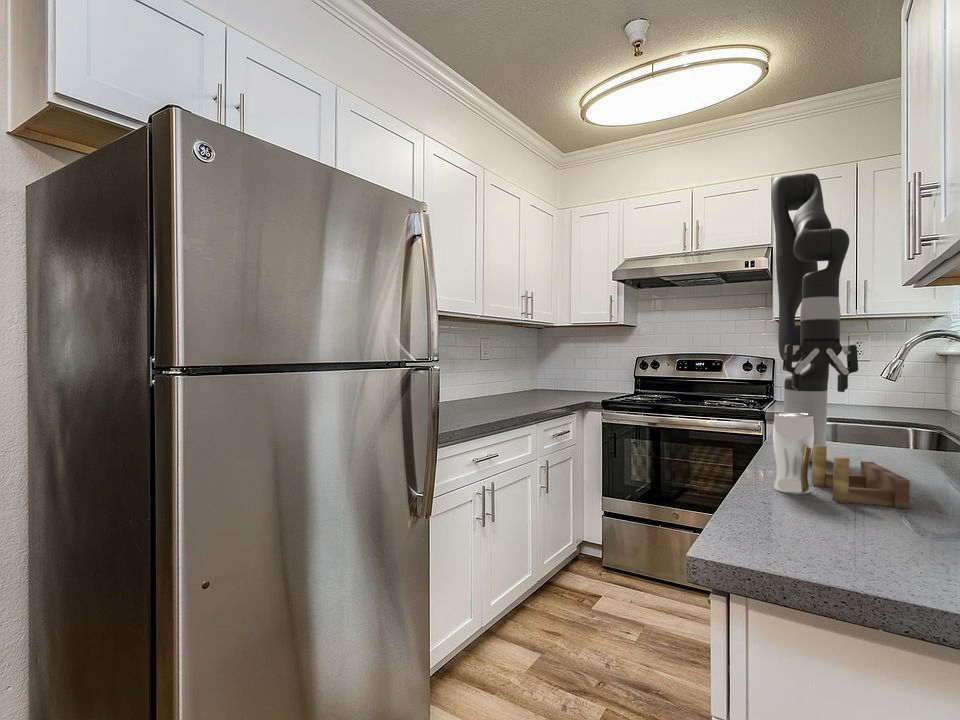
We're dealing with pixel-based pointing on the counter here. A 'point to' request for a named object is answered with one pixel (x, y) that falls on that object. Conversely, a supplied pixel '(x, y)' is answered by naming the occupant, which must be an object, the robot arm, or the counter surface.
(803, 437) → the silver metal cup
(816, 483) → the holder
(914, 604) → the counter surface
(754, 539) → the counter surface
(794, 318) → the robot arm
